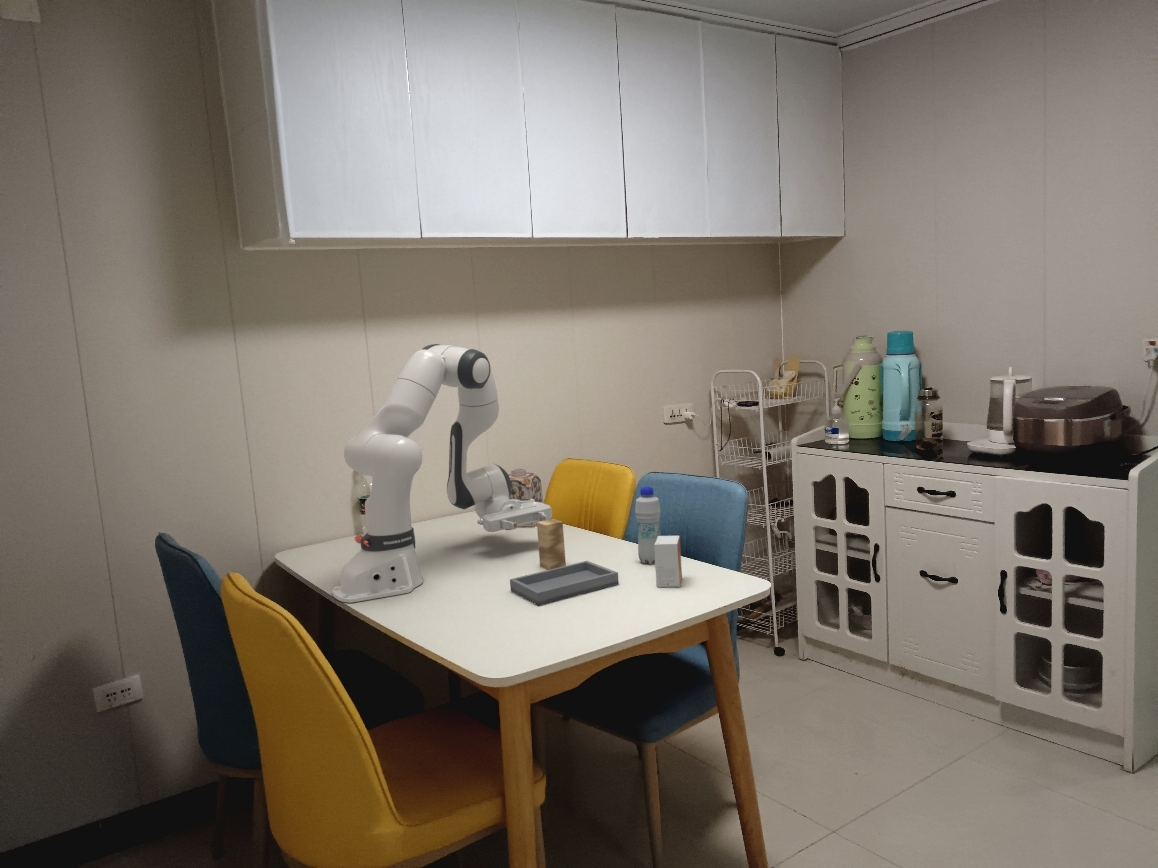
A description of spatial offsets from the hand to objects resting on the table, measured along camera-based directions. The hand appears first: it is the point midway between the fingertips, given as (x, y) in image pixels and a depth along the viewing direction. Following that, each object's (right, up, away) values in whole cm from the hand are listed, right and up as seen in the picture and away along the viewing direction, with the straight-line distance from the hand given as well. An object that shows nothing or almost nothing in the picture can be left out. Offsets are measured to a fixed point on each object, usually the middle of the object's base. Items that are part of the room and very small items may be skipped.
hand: (529, 522), depth 224 cm
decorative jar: (-5, -5, +42) cm, 42 cm away
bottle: (+32, -9, -11) cm, 35 cm away
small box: (+35, -11, -29) cm, 47 cm away
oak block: (+7, -11, -9) cm, 16 cm away
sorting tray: (+10, -13, -28) cm, 33 cm away
